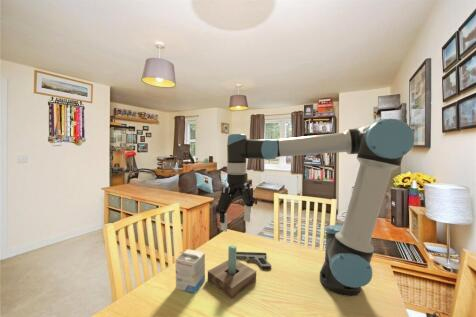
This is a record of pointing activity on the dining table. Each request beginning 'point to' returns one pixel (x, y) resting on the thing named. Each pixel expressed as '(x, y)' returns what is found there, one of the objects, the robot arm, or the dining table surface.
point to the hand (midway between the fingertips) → (236, 225)
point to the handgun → (255, 258)
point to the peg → (232, 260)
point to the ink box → (190, 270)
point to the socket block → (231, 278)
